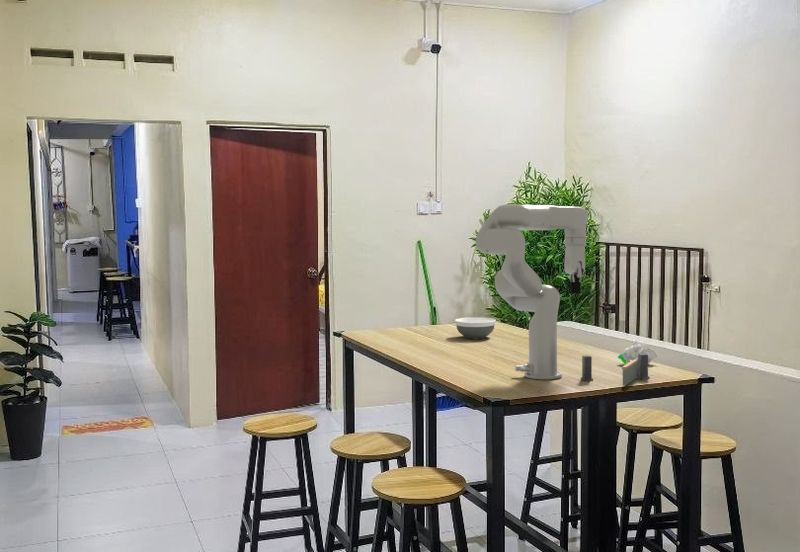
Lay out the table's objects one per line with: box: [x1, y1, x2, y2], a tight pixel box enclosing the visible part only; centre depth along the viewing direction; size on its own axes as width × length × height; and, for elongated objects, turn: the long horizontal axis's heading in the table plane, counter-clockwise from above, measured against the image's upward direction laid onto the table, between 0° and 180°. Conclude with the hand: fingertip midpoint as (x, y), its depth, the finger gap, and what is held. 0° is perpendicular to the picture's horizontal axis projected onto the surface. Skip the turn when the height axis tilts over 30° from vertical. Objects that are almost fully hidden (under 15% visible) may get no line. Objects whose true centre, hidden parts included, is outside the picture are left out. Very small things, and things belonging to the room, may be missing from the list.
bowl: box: [454, 316, 497, 339], centre depth 363 cm, size 19×19×8 cm
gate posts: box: [580, 354, 650, 382], centre depth 267 cm, size 23×3×8 cm, turn 96°
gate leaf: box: [621, 359, 639, 386], centre depth 262 cm, size 16×1×6 cm, turn 149°
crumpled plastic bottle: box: [617, 340, 659, 365], centre depth 290 cm, size 12×9×10 cm
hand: (575, 293), depth 287 cm, fingers closed
